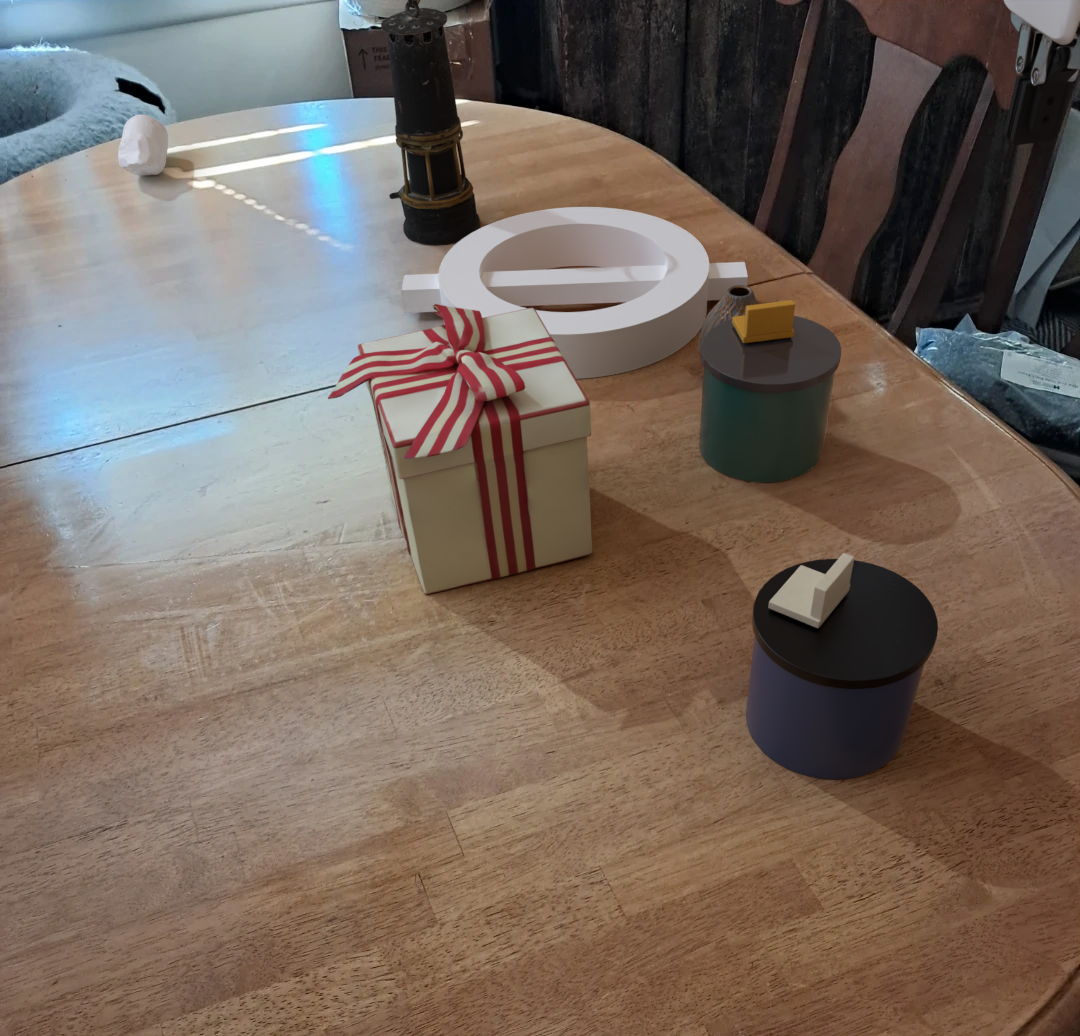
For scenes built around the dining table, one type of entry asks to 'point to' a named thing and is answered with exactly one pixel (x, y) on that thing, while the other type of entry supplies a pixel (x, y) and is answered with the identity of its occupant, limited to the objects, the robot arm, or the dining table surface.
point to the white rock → (143, 146)
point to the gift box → (480, 445)
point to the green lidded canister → (766, 401)
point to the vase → (728, 309)
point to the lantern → (428, 130)
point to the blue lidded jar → (839, 674)
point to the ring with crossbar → (585, 282)
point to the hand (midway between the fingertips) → (1029, 138)
